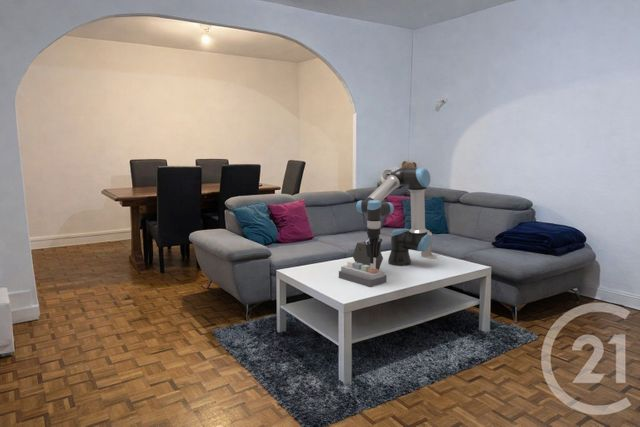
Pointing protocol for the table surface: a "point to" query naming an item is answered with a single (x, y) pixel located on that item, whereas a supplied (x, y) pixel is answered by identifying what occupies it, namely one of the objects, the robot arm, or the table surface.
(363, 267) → the key sage
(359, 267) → the key slate
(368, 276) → the console
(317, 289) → the table surface
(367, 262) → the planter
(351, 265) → the key ivory
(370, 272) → the key terracotta
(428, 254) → the candle
